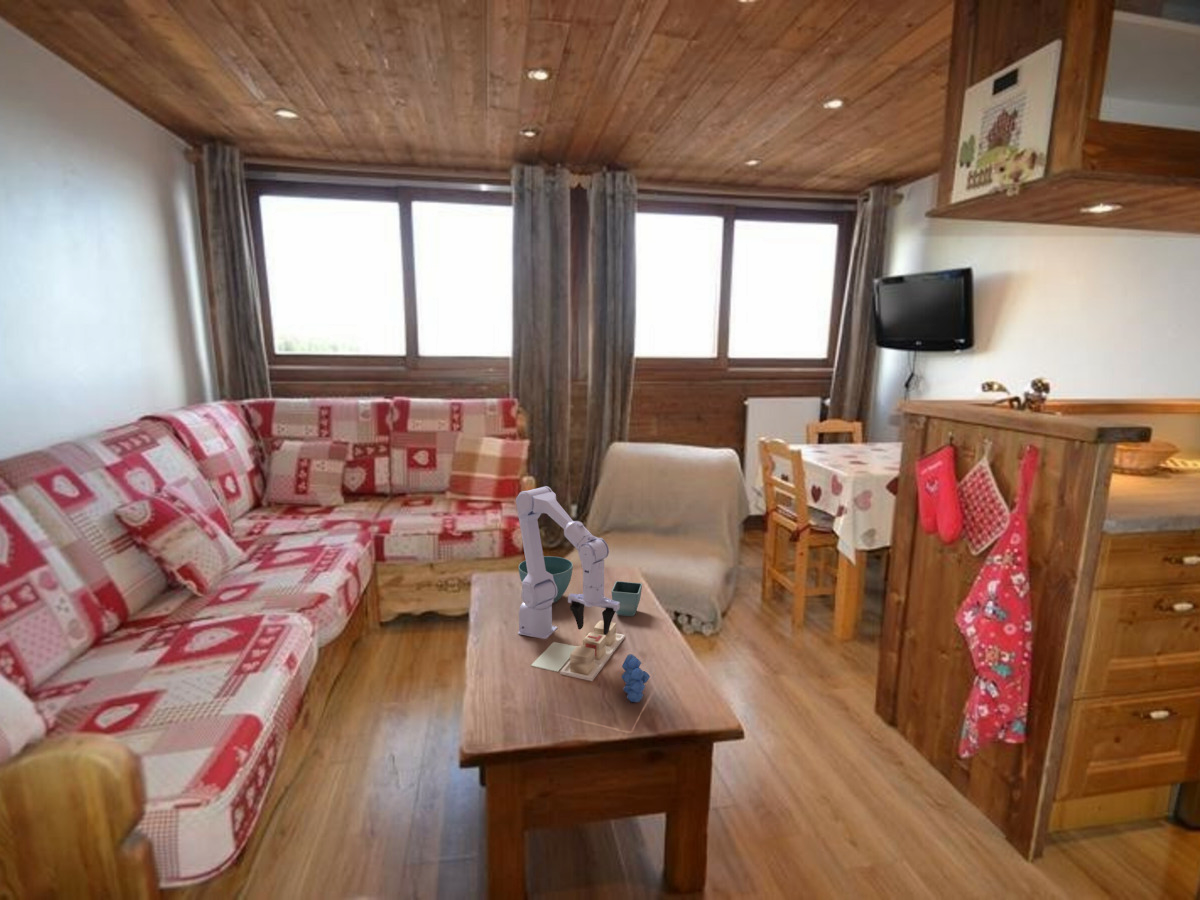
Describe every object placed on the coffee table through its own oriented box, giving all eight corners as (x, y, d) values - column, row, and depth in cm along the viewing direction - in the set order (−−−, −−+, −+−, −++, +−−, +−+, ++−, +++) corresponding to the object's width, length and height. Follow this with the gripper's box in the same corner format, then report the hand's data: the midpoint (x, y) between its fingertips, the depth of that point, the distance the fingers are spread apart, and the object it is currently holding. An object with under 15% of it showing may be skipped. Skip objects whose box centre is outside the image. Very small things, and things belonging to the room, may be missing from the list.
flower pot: (638, 620, 188) (638, 593, 186) (610, 618, 189) (611, 591, 188) (642, 608, 196) (642, 583, 195) (615, 606, 198) (615, 580, 196)
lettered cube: (582, 657, 164) (582, 639, 164) (589, 648, 169) (589, 631, 168) (599, 660, 163) (599, 643, 162) (606, 652, 167) (606, 634, 166)
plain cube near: (570, 671, 157) (570, 654, 156) (577, 662, 162) (577, 645, 161) (587, 675, 155) (587, 657, 154) (595, 666, 160) (595, 648, 159)
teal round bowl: (510, 606, 197) (509, 571, 195) (532, 586, 214) (531, 553, 212) (561, 614, 192) (561, 577, 190) (580, 592, 209) (579, 558, 207)
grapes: (657, 712, 140) (658, 665, 138) (630, 716, 139) (630, 669, 137) (642, 685, 151) (642, 641, 149) (616, 689, 150) (616, 644, 148)
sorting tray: (560, 675, 156) (560, 671, 156) (596, 633, 179) (596, 629, 179) (592, 682, 153) (592, 678, 153) (624, 638, 176) (624, 634, 176)
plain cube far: (593, 643, 172) (593, 627, 171) (600, 636, 177) (600, 620, 176) (610, 646, 170) (610, 630, 169) (616, 639, 175) (616, 623, 174)
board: (530, 667, 160) (530, 665, 160) (553, 643, 173) (553, 641, 173) (557, 673, 157) (557, 671, 157) (579, 648, 170) (579, 646, 170)
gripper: (563, 584, 161) (563, 631, 163) (613, 593, 155) (612, 641, 158) (573, 575, 167) (574, 621, 170) (622, 583, 162) (621, 630, 164)
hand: (593, 630), depth 164 cm, fingers open, 7 cm apart
